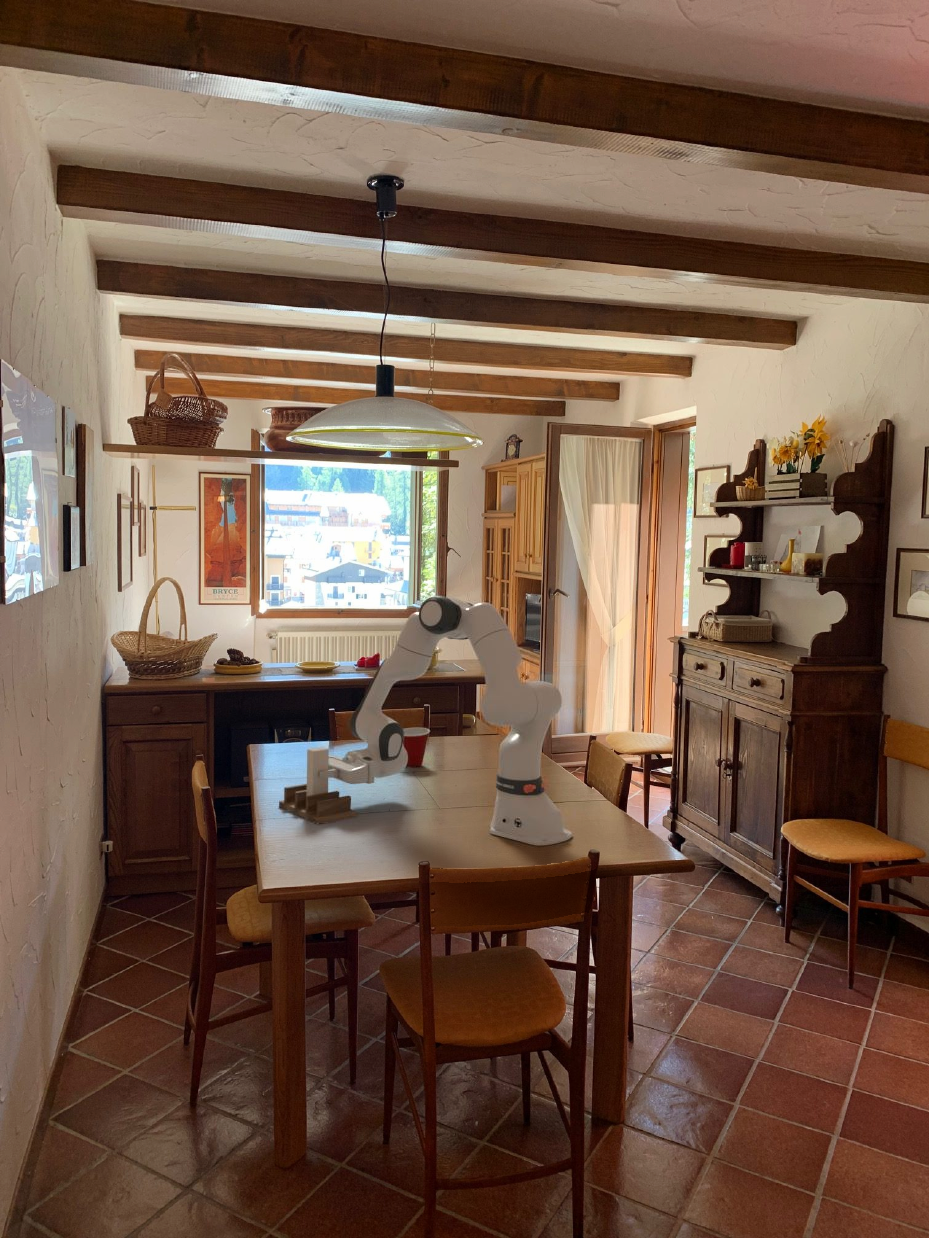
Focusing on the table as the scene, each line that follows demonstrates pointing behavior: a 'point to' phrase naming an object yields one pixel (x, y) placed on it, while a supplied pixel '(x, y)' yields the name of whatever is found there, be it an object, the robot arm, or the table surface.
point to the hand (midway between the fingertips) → (314, 772)
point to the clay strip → (315, 763)
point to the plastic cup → (415, 745)
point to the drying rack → (316, 804)
